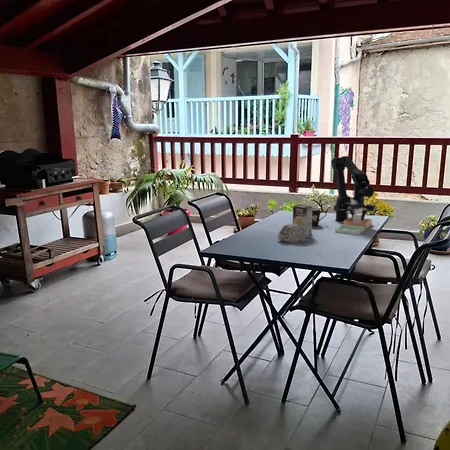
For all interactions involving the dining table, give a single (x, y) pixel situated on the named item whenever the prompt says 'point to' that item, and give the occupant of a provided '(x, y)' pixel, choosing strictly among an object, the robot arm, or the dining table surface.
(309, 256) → the dining table surface
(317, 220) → the coffee mug
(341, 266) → the dining table surface
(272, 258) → the dining table surface
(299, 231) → the rock
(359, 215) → the grey block
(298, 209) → the coffee box
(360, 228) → the pale green tray
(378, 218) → the dining table surface
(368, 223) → the terracotta bin
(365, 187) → the robot arm
